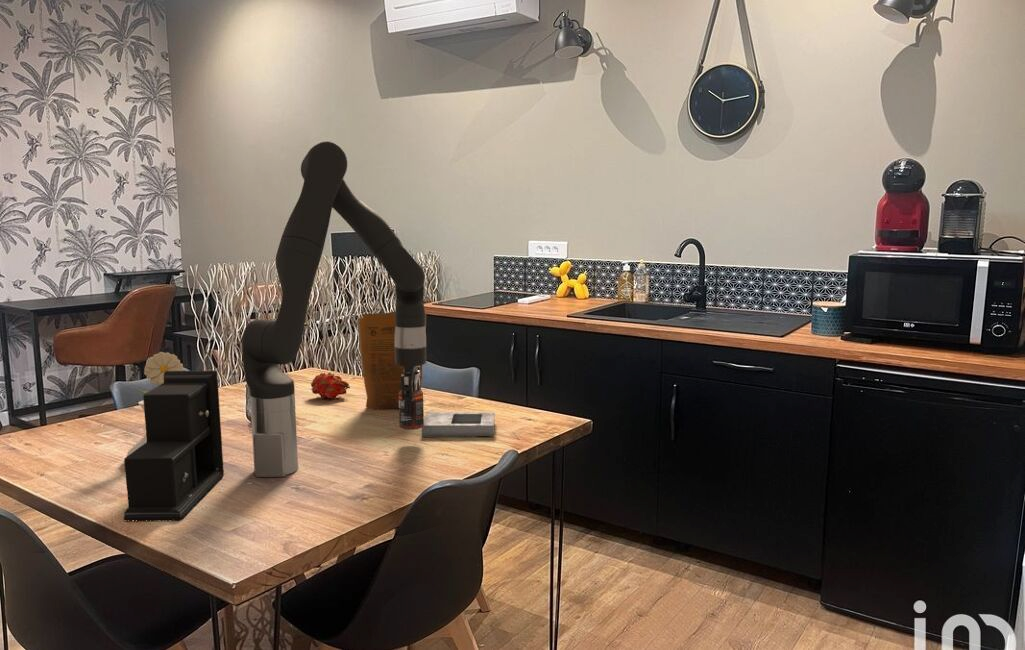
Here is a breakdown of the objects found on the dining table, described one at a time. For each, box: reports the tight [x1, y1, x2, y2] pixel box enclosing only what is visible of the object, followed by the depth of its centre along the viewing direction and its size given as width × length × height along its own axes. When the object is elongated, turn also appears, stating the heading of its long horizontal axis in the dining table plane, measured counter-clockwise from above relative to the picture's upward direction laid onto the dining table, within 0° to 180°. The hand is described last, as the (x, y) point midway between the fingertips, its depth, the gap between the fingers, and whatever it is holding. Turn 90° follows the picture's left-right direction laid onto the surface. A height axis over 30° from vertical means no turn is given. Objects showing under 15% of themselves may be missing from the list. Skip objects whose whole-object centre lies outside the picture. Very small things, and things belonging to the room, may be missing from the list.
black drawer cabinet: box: [123, 370, 225, 522], centre depth 150 cm, size 23×11×24 cm, turn 2°
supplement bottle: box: [398, 381, 425, 431], centre depth 185 cm, size 6×6×11 cm
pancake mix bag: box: [357, 311, 427, 410], centre depth 216 cm, size 7×19×28 cm, turn 96°
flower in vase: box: [126, 351, 184, 457], centre depth 172 cm, size 13×11×25 cm
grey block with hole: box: [420, 411, 496, 438], centre depth 197 cm, size 12×18×3 cm, turn 90°
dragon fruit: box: [310, 372, 351, 401], centre depth 229 cm, size 8×8×12 cm
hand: (411, 412), depth 185 cm, fingers closed on supplement bottle, 6 cm apart
